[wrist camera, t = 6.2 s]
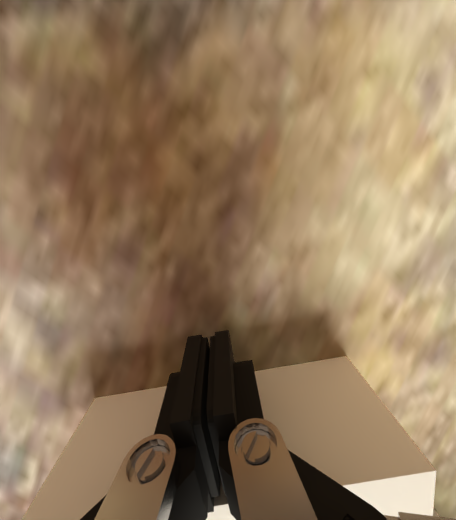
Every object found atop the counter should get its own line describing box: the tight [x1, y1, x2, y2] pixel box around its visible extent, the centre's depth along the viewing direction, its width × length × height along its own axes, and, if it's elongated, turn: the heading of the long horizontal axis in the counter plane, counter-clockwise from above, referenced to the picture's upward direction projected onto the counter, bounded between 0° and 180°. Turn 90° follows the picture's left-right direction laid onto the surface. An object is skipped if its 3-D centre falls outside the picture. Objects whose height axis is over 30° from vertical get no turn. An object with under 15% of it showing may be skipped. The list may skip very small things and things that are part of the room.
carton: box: [22, 356, 436, 520], centre depth 10 cm, size 12×9×5 cm
